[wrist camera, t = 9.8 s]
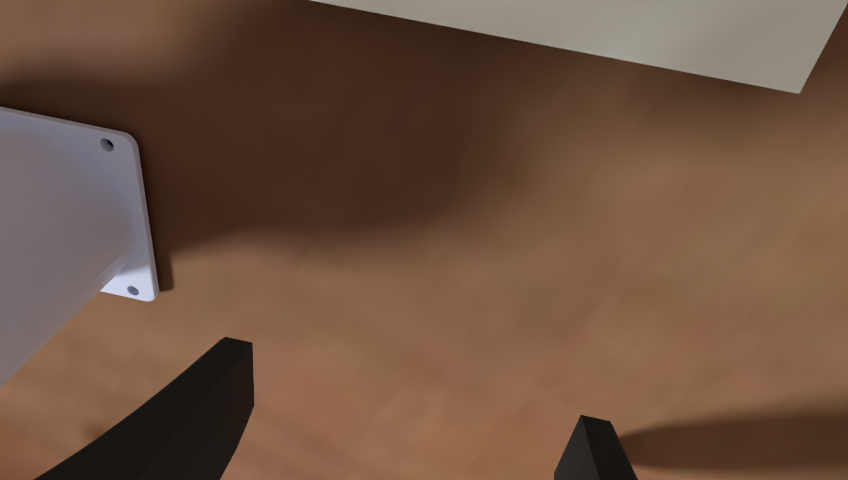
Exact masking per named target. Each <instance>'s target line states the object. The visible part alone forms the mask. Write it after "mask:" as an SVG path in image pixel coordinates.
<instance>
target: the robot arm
mask: <svg viewBox="0 0 848 480" xmlns="http://www.w3.org/2000/svg"><path fill="white" fill-rule="evenodd" d="M107 139H108V140H110V141H111V142H112V144H113V146H114V147H112V146H111V145H110V144H109V143H108V142H107ZM135 287H136V288H137V289H136V288H135ZM99 291H102V292H107V293H111V294H116V295H120V296H125V297H130V298H134V299H139V300H143V301H152V300H154V299H155V298H156V297H157V295H158V294H159V286H158V279H157V272H156V266H155V259H154V252H153V245H152V238H151V231H150V225H149V218H148V211H147V204H146V197H145V191H144V184H143V177H142V170H141V163H140V157H139V150H138V145H137V142H136V141H135V139H134V138H133V137H132V136H131V135H129V134H128V133H125V132H122V131H117V130H112V129H107V128H102V127H98V126H93V125H88V124H83V123H78V122H73V121H68V120H63V119H59V118H54V117H49V116H44V115H39V114H34V113H29V112H24V111H19V110H15V109H10V108H5V107H0V388H1V387H2V386H3V385H4V384H5V383H6V382H7V381H8V380H9V379H10V378H11V377H12V376H13V375H14V374H15V373H16V372H17V371H18V370H19V369H20V368H21V367H22V366H23V365H24V364H25V363H26V362H27V361H28V360H29V359H31V358H32V357H33V356H34V355H35V354H36V353H37V352H38V351H39V350H40V349H41V348H42V347H43V346H44V345H45V344H46V343H47V342H48V341H49V340H50V339H51V338H52V337H53V336H54V335H55V334H56V333H57V332H58V331H59V330H60V329H61V328H62V327H63V326H64V325H65V324H67V323H68V322H69V321H70V320H71V319H72V318H73V317H74V316H75V315H76V314H77V313H78V312H79V311H80V310H81V309H82V308H83V307H84V306H85V305H86V304H87V303H88V302H89V301H90V300H91V299H92V298H93V297H94V296H95V295H96V294H97V293H98V292H99ZM253 407H254V382H253V349H252V343H251V342H246V341H242V340H237V339H232V338H228V337H224V338H223V339H221V340H220V341H219V342H217V343H216V344H215V345H214V346H213V347H212V348H211V349H209V350H208V351H207V352H206V353H205V354H204V355H203V356H201V357H200V358H199V359H198V360H197V361H196V362H194V363H193V364H192V365H191V366H190V367H189V368H187V369H186V370H185V371H184V372H183V373H181V374H180V375H179V376H178V377H177V378H175V379H174V380H173V381H172V382H171V383H169V384H168V385H167V386H166V387H164V388H163V389H162V390H161V391H159V392H158V393H157V394H156V395H154V396H153V397H152V398H151V399H149V400H148V401H147V402H146V403H144V404H143V405H142V406H141V407H139V408H138V409H137V410H135V411H134V412H133V413H131V414H130V415H129V416H127V417H126V418H125V419H123V420H122V421H120V422H119V423H118V424H116V425H115V426H114V427H112V428H111V429H109V430H108V431H107V432H105V433H104V434H103V435H101V436H100V437H98V438H97V439H96V440H94V441H93V442H91V443H90V444H88V445H87V446H85V447H84V448H82V449H81V450H80V451H78V452H77V453H75V454H73V455H72V456H70V457H69V458H67V459H66V460H64V461H63V462H61V463H60V464H58V465H56V466H55V467H53V468H52V469H50V470H49V471H47V472H45V473H44V474H42V475H40V476H39V477H37V478H35V479H34V480H220V478H221V476H222V474H223V473H224V471H225V469H226V467H227V465H228V463H229V462H230V460H231V458H232V456H233V454H234V452H235V450H236V448H237V446H238V444H239V441H240V439H241V437H242V434H243V432H244V430H245V427H246V425H247V422H248V420H249V417H250V415H251V412H252V410H253ZM554 480H638V479H637V477H636V475H635V473H634V470H633V468H632V466H631V464H630V462H629V460H628V458H627V456H626V454H625V451H624V449H623V447H622V445H621V443H620V441H619V438H618V436H617V434H616V432H615V430H614V427H613V425H612V424H611V422H610V421H606V420H602V419H597V418H593V417H588V416H584V415H581V416H580V418H579V420H578V423H577V425H576V427H575V429H574V431H573V433H572V436H571V438H570V440H569V442H568V444H567V446H566V449H565V451H564V453H563V455H562V457H561V459H560V461H559V464H558V466H557V468H556V470H555V472H554Z"/></svg>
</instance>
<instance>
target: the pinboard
mask: <svg viewBox="0 0 848 480" xmlns="http://www.w3.org/2000/svg"><path fill="white" fill-rule="evenodd" d="M311 1H316V2H322V3H327V4H332V5H337V6H343V7H348V8H353V9H358V10H363V11H369V12H374V13H379V14H384V15H390V16H395V17H400V18H405V19H410V20H416V21H421V22H426V23H431V24H437V25H442V26H447V27H452V28H458V29H463V30H468V31H473V32H478V33H484V34H489V35H494V36H499V37H505V38H510V39H515V40H520V41H525V42H531V43H536V44H541V45H546V46H552V47H557V48H562V49H567V50H573V51H578V52H583V53H588V54H593V55H599V56H604V57H609V58H614V59H620V60H625V61H630V62H635V63H640V64H646V65H651V66H656V67H661V68H667V69H672V70H677V71H682V72H688V73H693V74H698V75H703V76H708V77H714V78H719V79H724V80H729V81H735V82H740V83H745V84H750V85H756V86H761V87H766V88H771V89H776V90H782V91H787V92H792V93H797V94H799V93H800V92H801V90H802V88H803V86H804V84H805V82H806V80H807V78H808V77H809V75H810V73H811V71H812V69H813V67H814V65H815V63H816V62H817V60H818V58H819V56H820V54H821V52H822V50H823V48H824V47H825V45H826V43H827V41H828V39H829V37H830V35H831V33H832V32H833V30H834V28H835V26H836V24H837V22H838V20H839V18H840V17H841V15H842V13H843V11H844V9H845V7H846V5H847V4H848V0H311Z"/></svg>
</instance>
